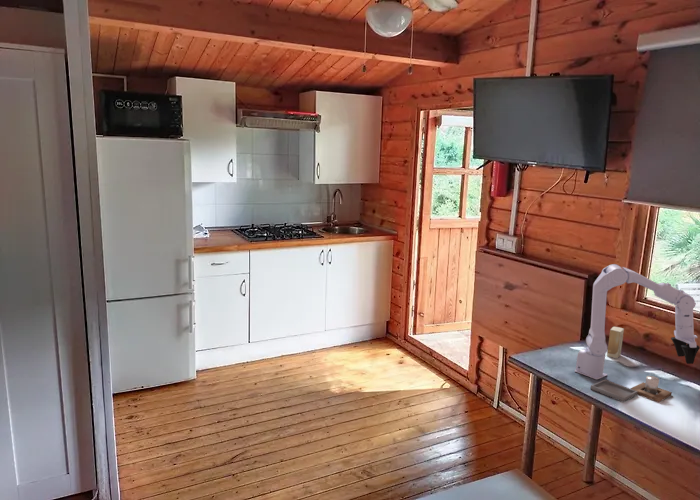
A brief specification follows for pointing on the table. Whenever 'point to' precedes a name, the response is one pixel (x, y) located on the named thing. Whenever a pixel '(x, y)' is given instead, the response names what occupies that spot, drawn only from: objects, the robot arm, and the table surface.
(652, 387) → the steel pin
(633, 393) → the tray
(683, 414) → the table surface
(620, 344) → the skincare box
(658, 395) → the socket block
